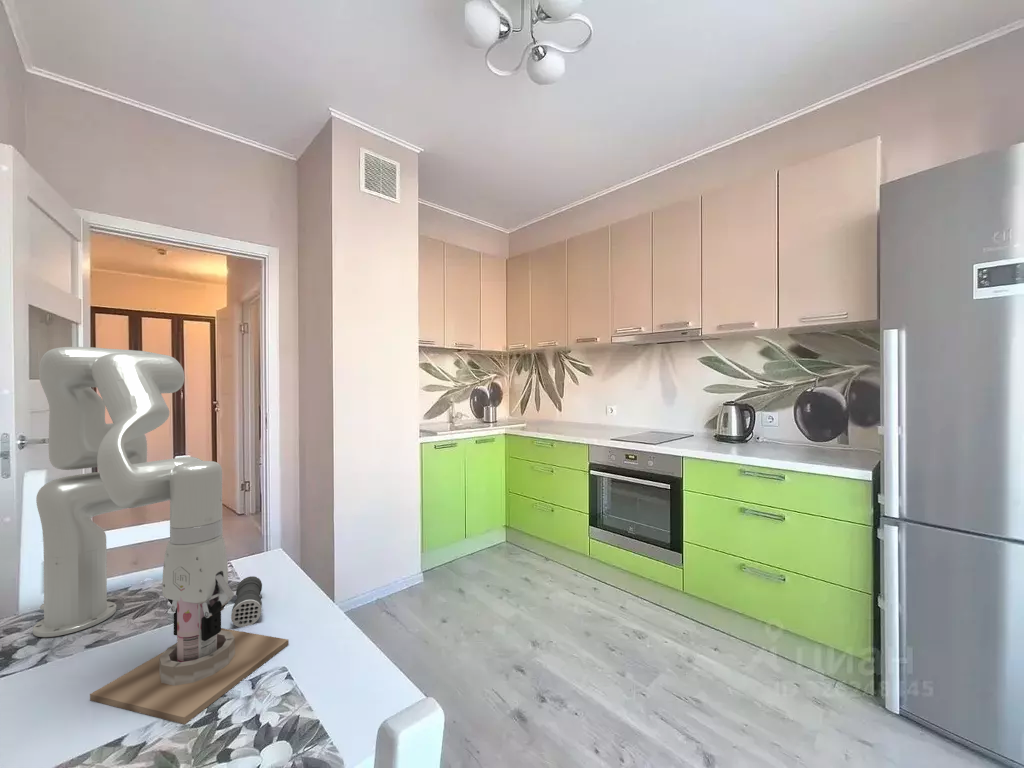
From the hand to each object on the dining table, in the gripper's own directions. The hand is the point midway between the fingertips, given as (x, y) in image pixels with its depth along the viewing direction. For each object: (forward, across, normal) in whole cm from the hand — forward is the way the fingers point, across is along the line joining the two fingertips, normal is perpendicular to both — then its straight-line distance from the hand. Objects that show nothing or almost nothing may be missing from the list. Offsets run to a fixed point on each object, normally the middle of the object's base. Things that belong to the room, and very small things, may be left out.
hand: (197, 632), depth 75 cm
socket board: (+7, 0, 0) cm, 7 cm away
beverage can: (+5, 0, 0) cm, 5 cm away
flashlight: (+7, -9, +19) cm, 22 cm away
